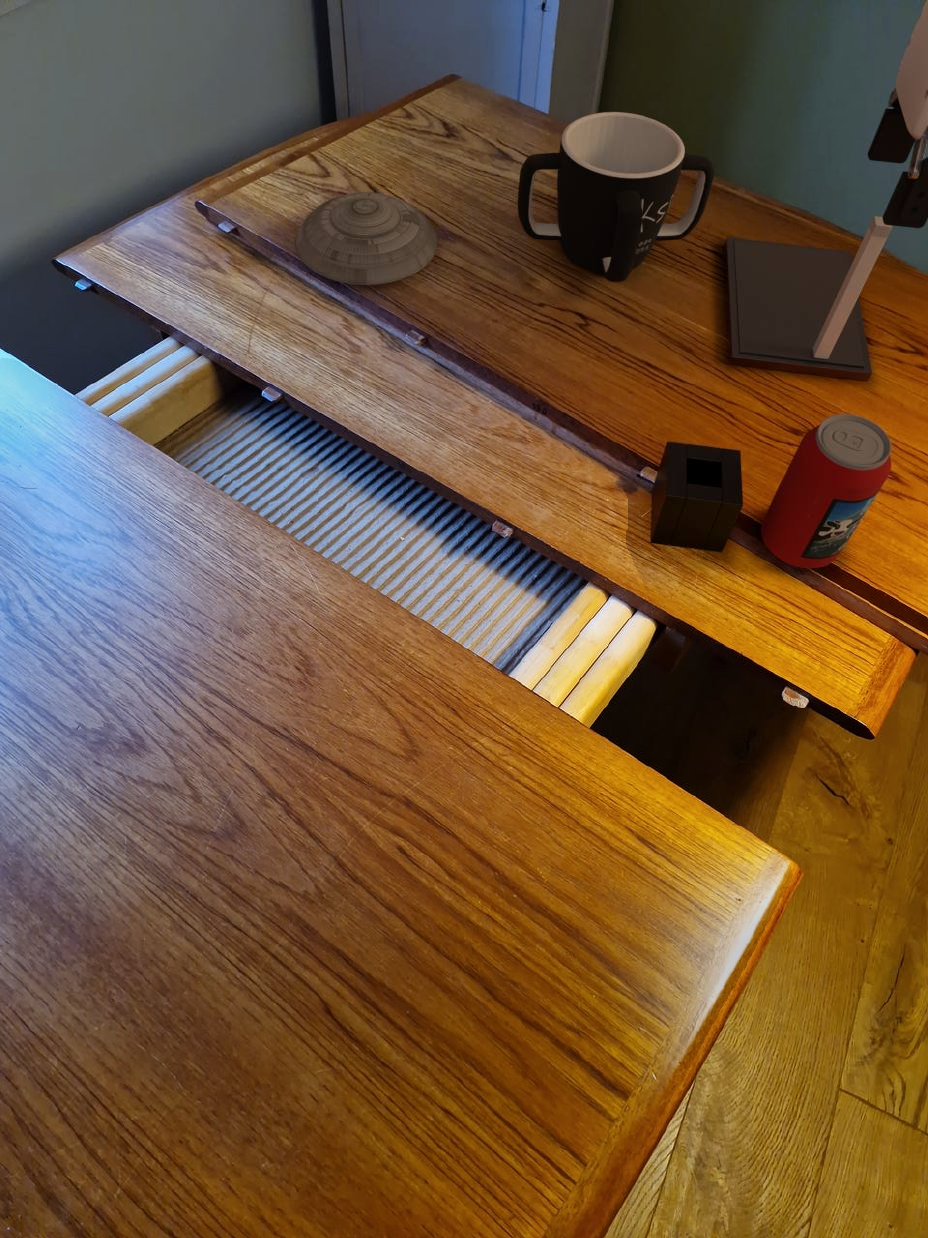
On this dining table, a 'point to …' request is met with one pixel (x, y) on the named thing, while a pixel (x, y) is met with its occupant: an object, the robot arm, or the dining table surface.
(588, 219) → the mug
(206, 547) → the dining table surface
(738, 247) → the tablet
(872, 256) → the stylus
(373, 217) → the flying saucer
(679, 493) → the pen holder
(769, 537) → the beverage can
